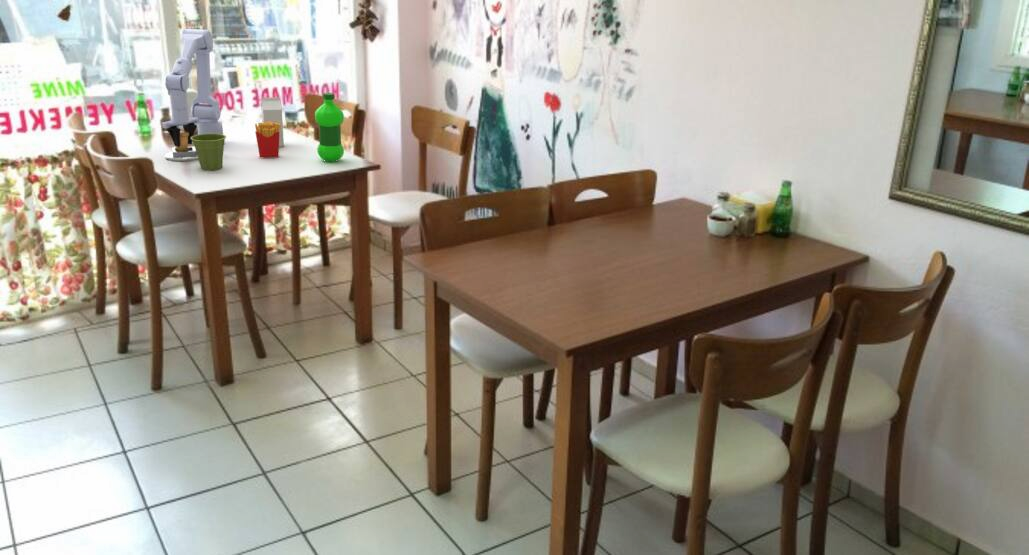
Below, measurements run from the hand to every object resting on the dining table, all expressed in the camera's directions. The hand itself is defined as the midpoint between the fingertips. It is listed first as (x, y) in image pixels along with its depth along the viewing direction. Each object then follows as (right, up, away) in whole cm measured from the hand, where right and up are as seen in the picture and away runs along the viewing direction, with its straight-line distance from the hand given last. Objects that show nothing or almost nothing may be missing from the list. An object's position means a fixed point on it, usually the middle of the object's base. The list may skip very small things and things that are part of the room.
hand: (183, 145), depth 308 cm
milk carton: (+26, +4, +26) cm, 37 cm away
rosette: (+3, -4, +3) cm, 6 cm away
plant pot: (+14, -10, -10) cm, 20 cm away
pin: (-1, -2, +1) cm, 2 cm away
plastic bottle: (+53, -5, +8) cm, 54 cm away
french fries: (+29, -3, +9) cm, 31 cm away
